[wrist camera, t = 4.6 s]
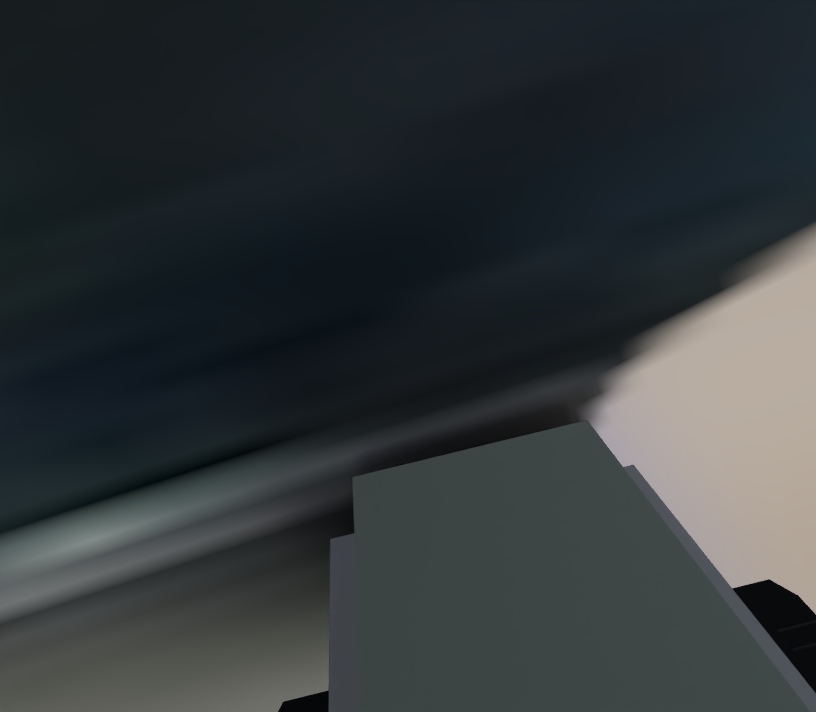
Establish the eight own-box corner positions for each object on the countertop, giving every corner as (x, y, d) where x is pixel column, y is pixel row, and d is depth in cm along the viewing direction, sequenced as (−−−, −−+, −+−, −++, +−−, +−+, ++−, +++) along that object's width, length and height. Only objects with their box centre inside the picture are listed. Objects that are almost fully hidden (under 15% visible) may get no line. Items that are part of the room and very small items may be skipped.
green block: (352, 477, 15) (365, 851, 8) (587, 420, 15) (828, 735, 8) (405, 663, 17) (458, 1116, 9) (616, 611, 17) (836, 1022, 9)
